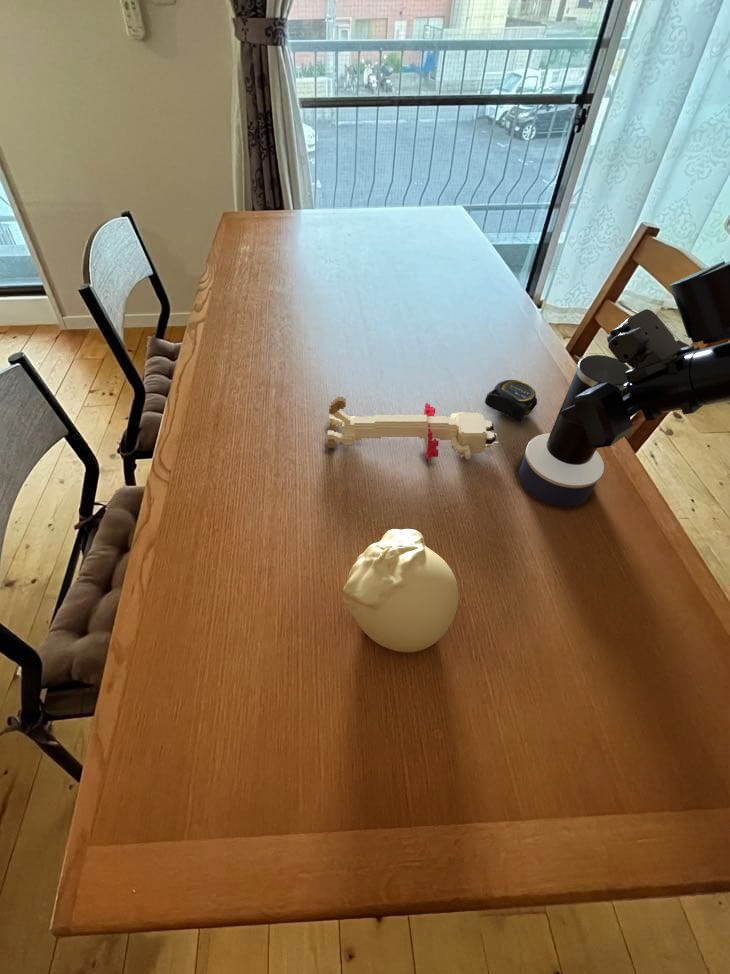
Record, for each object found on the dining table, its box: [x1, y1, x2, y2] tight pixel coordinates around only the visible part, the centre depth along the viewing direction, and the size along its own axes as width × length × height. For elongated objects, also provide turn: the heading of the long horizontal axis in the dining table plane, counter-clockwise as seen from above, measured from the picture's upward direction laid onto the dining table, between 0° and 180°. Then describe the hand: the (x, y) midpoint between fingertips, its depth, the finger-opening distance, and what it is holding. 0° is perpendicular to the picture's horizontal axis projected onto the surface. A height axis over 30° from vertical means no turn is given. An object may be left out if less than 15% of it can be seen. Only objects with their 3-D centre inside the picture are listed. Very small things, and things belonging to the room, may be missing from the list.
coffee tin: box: [518, 432, 605, 508], centre depth 78 cm, size 10×10×4 cm
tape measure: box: [484, 379, 538, 423], centre depth 89 cm, size 7×7×4 cm
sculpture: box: [342, 528, 459, 653], centre depth 60 cm, size 12×12×11 cm
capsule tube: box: [547, 354, 632, 465], centre depth 70 cm, size 6×6×13 cm
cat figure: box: [327, 396, 499, 461], centre depth 81 cm, size 10×9×25 cm
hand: (577, 405), depth 71 cm, fingers closed on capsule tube, 6 cm apart
